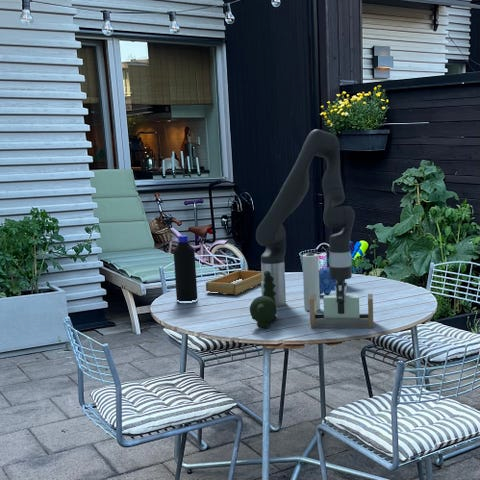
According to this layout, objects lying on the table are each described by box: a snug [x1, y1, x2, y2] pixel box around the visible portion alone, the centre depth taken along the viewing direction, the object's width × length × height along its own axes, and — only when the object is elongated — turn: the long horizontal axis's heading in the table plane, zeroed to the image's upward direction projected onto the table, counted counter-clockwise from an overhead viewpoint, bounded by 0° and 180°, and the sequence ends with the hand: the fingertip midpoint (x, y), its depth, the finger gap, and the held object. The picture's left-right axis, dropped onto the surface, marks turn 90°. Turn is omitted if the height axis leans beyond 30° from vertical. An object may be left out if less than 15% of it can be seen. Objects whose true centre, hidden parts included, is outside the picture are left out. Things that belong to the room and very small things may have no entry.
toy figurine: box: [249, 271, 278, 329], centre depth 222 cm, size 9×19×25 cm
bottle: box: [173, 234, 198, 301], centre depth 261 cm, size 9×9×28 cm
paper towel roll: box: [302, 252, 321, 312], centre depth 238 cm, size 7×6×21 cm
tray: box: [205, 270, 262, 295], centre depth 285 cm, size 31×15×6 cm, turn 151°
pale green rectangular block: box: [323, 294, 361, 318], centre depth 215 cm, size 12×4×9 cm, turn 78°
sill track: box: [309, 293, 374, 329], centre depth 215 cm, size 21×8×10 cm, turn 79°
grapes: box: [319, 266, 337, 296], centre depth 261 cm, size 12×7×12 cm, turn 78°
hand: (341, 310), depth 215 cm, fingers open, 8 cm apart
